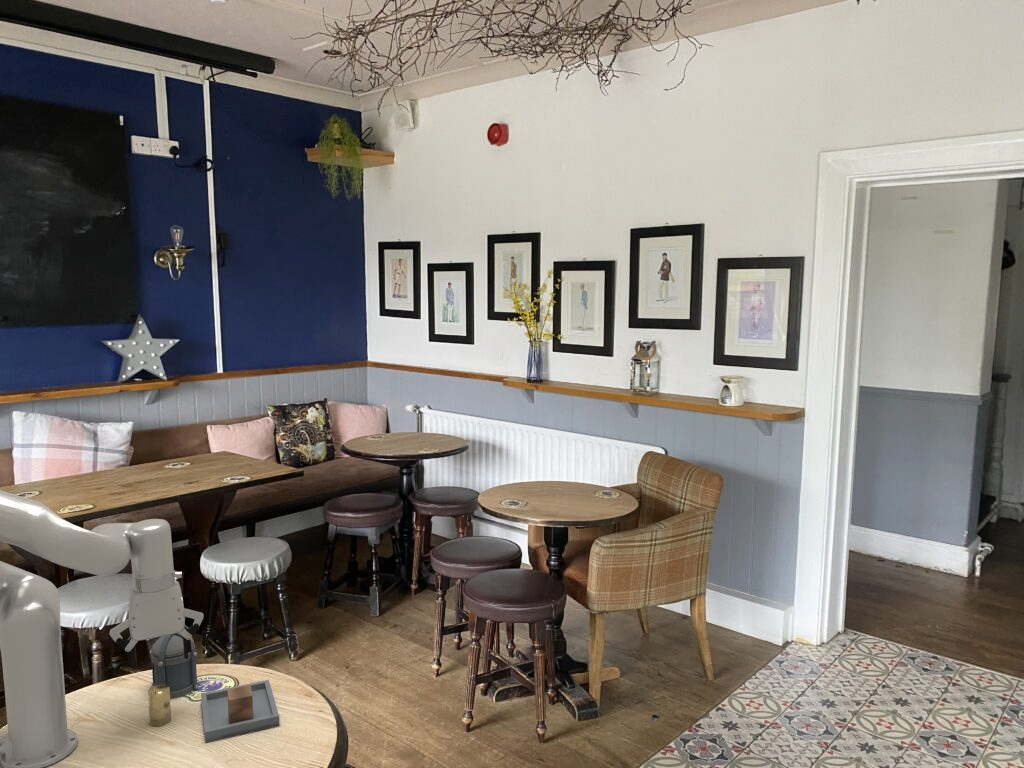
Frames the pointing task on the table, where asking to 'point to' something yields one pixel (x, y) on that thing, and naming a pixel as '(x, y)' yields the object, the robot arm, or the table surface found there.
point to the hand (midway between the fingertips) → (160, 661)
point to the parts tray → (262, 719)
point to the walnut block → (240, 704)
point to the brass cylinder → (159, 705)
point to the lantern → (174, 665)
